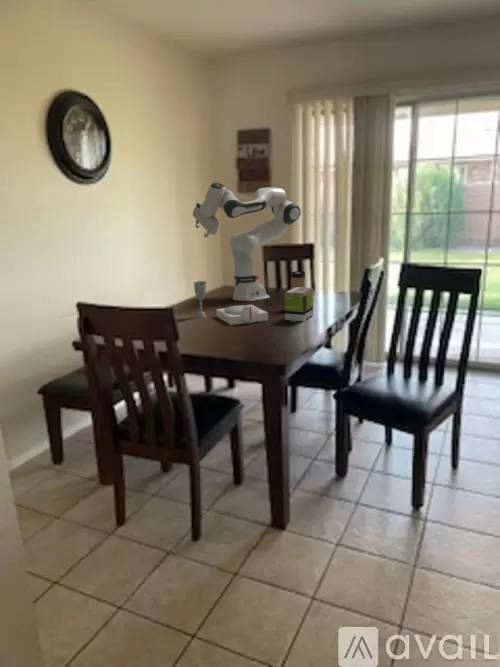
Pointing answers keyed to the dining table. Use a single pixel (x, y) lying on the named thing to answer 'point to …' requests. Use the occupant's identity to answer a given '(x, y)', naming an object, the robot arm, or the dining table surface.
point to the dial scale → (242, 314)
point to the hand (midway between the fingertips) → (201, 232)
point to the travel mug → (297, 279)
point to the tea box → (298, 304)
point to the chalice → (200, 295)
